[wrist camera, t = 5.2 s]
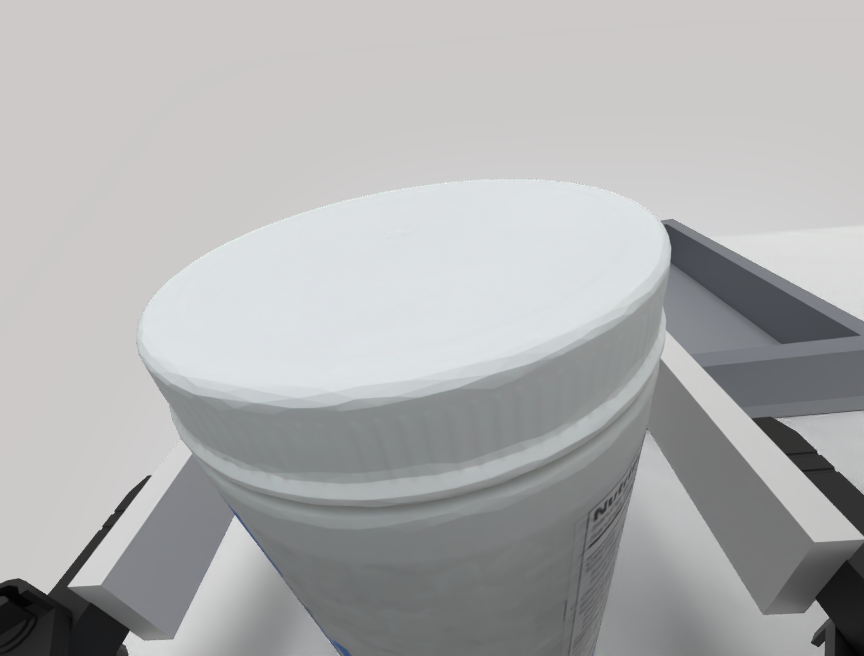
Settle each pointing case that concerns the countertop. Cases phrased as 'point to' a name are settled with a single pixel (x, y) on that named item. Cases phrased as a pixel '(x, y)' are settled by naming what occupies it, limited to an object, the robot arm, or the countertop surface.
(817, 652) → the countertop surface
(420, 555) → the supplement tub
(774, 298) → the tray
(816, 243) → the countertop surface
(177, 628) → the robot arm
